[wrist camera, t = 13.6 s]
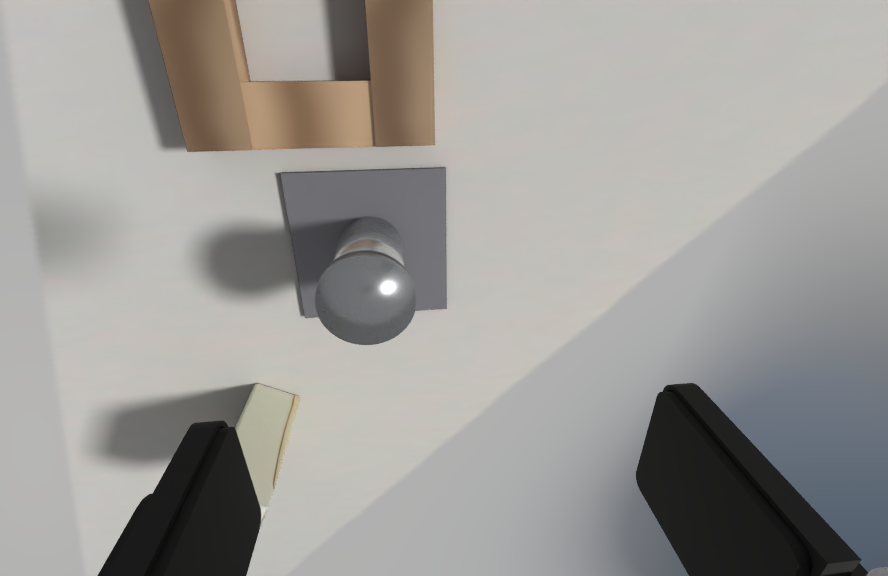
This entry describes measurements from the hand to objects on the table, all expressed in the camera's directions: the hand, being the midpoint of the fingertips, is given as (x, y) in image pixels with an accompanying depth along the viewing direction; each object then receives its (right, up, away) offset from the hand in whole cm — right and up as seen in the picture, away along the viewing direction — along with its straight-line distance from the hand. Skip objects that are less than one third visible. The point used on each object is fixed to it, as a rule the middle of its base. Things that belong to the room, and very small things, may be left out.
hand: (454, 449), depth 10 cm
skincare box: (-17, -8, +31) cm, 37 cm away
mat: (-6, +7, +25) cm, 27 cm away
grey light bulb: (-6, +7, +25) cm, 27 cm away
